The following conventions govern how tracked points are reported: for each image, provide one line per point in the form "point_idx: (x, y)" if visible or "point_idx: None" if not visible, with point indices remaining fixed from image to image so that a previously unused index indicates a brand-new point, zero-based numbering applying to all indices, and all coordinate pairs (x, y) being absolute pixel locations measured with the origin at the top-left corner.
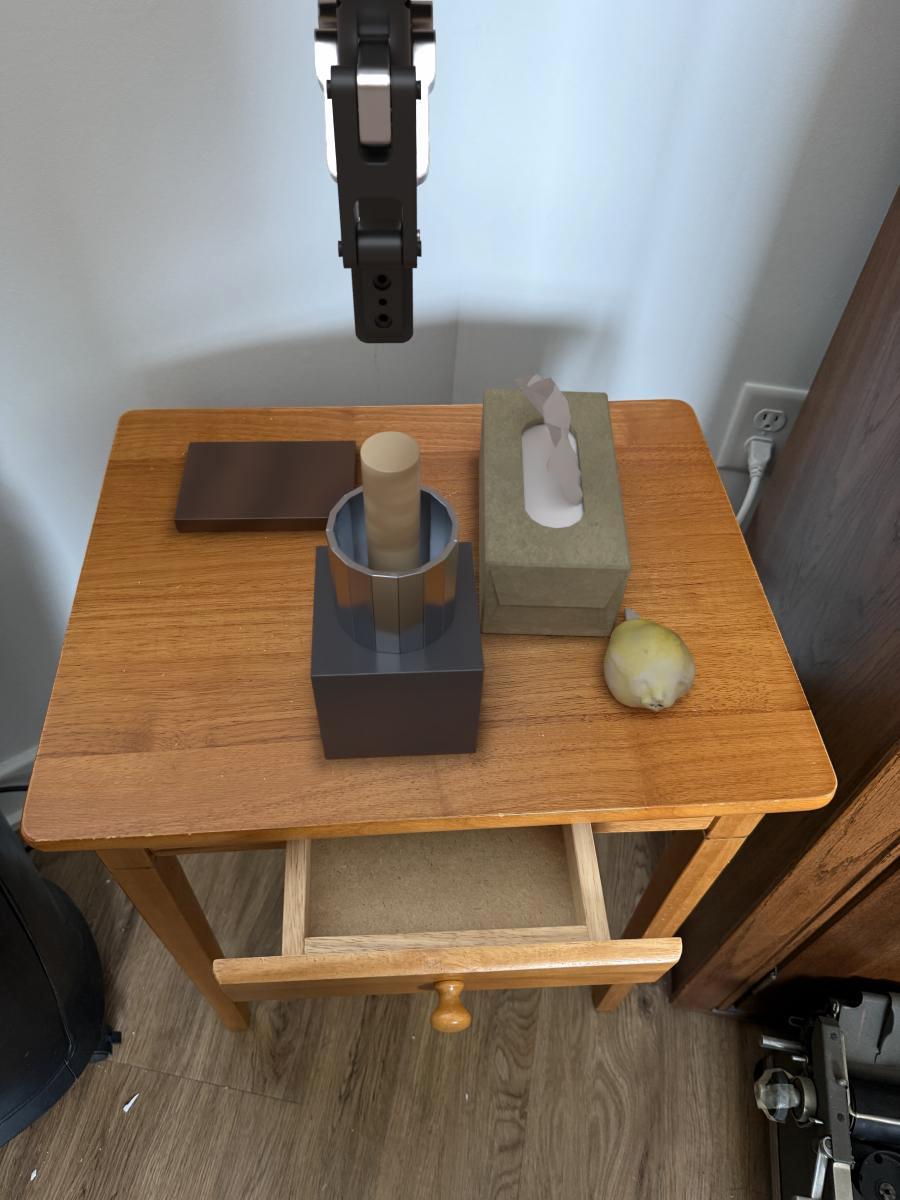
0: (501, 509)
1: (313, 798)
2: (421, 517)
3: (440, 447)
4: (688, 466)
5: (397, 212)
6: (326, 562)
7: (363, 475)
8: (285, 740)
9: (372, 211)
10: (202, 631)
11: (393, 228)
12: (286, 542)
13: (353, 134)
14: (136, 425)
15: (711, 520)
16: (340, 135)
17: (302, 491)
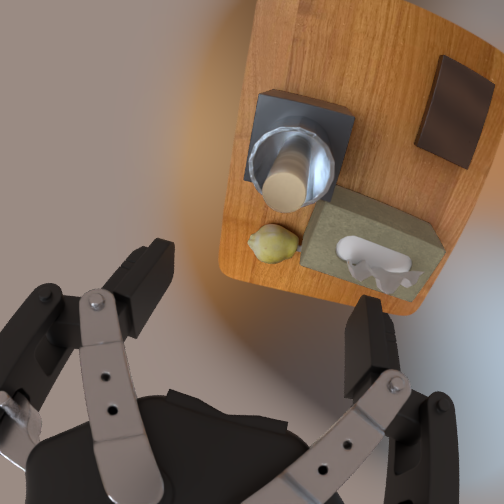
0: (359, 224)
1: (253, 80)
2: (318, 185)
3: (448, 209)
4: (381, 305)
5: (349, 328)
6: (340, 119)
7: (281, 167)
8: (288, 72)
9: (359, 311)
10: (368, 47)
11: (55, 341)
12: (417, 106)
13: None
14: None
15: (349, 300)
16: None
17: (443, 127)
